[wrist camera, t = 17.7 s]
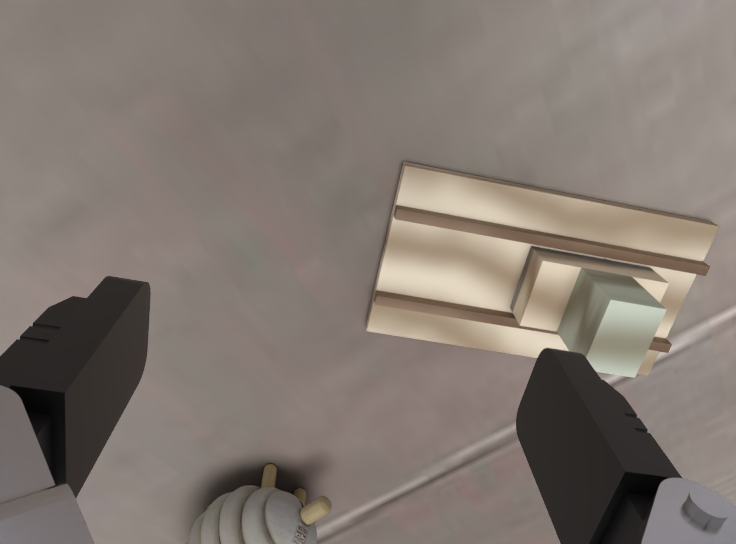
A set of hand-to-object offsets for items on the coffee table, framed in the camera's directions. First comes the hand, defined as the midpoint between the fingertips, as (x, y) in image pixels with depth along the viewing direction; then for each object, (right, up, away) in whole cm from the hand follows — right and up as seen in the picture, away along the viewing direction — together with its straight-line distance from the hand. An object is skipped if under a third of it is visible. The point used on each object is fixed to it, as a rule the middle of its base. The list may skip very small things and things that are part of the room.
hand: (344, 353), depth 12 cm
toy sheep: (-10, -20, +44) cm, 50 cm away
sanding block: (+17, 0, +34) cm, 39 cm away
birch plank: (+14, +2, +35) cm, 38 cm away
